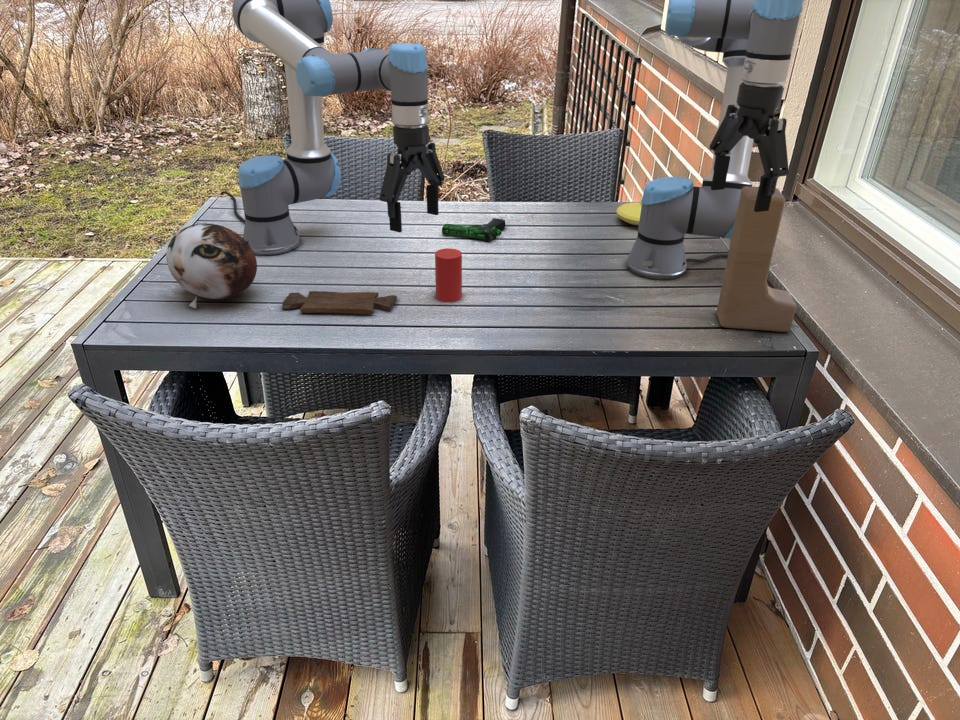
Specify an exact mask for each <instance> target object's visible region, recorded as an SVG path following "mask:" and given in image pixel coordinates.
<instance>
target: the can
mask: <svg viewBox="0 0 960 720" xmlns="http://www.w3.org/2000/svg"><path fill="white" fill-rule="evenodd" d="M434 272H435V274H434V275H435V280H434V281H435V299H437V300H438V301H440V302H444V303H453V302H457V301H459V300H461V299H462V298H463V253H462V251H461V250H459V249H457V248H449V247H446V248H440V249H438V250H436V251H435V252H434Z"/></svg>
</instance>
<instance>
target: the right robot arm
mask: <svg viewBox="0 0 960 720" xmlns="http://www.w3.org/2000/svg"><path fill="white" fill-rule="evenodd" d="M803 3H804V0H668V5H667V13H666V21H665V34H666V35H668V36H670V37H676V38H677V39H678V41H680V42H681V43H682V44H684V45H686V46H688V47H690V48H693V49H696V50H698V51H699V50H700V51H704V52H707V53H708V52H710V53H722V59H721V60H722V61H721V62H722V64H723V65H724V66H725V67H726V69H727V71H726V75H725V76H726V77H725V82H724V90H723V95H722V102H721V107H720V113H719V119H718V125H717V131H716V132H715V134H714V136H713V139H712V141H711V142H710V143H709V150H710V151H713V155H712V161H711V162H712V163H711V168H710V173H709V174H708V175H706V176H705V177H704V178H703V179H702V183H701V184H702V185H701V186H695V185H694V181H693V180H692V179H690V178H689V177H683V176H664V177H659V178H655V179H653V180H651V181H649V182H647V184H646V185H645V186H644V189H643V193H642V198H641V199H642V200H641V199H640V202H641V203H642V207H641V214H640V221H639V226H638V227H637V228H638V229H637V236H636V239H635V241H634V243H633V246H632V248H631V250H630V252H629V254H628V255H627V258H626V265H625V266H626V269H628V271H629V272H631V273H632V274H634V275H636V276H638V277H641V278H646V279H651V280H657V281H658V280H659V281H668V280H675V279H679V278H681V277H683V276H684V275H685V274H686V273H687V268H688V267H687V266H688V264H687V263H706V262H708V261H710V260H712V259H715V258H728V253H716V254H712V255H708V257H705V258H687V257H686V251H685V245H684V240H685V235H693V236H703V237H713V238H720V239H731V238H732V233H733V228H734V224H735V219H736V214H737V209H738V204H739V199H740V194H741V189H742V188H743V187H745V186H748V187H753V182H752V181H751V180H750V178H749V176H748V175H749V169H750V164H751V157H752V152H753V146H754V144H756V146H757V150H758V154H759V157H760V161H761V164H762V168H763V172H764V174H762V175H761V176H760V180H759V184H758V187H759V189H758V194H757V198H756V203H755V208H754V211H755V212H762V211H769V207H770V202H771V198H772V195H773V194H774V193H775V188H777V183H778V179H779V178H780V177H788V175H789V174H790V172H789V171H790V170H789V159H788V158H789V157H788V148H787V138H786V136H787V135H786V128H787V122H788V121H787V118H786V117H784V118H783V117H782V118H775V111H776V110H777V109H778V108H780V106H781V104H782V99H783V95H784V94H783V93H784V89H785V87H784V86H783V85H782V84H784V83H786V81H787V77H788V72H789V67H790V62H791V56H792V51H793V46H794V43H795V39H796V34H797V30H798V27H799V26H798V25H799V21H800V20H799V19H800V16H801V13H802V12H803V9H804V7H803Z"/></svg>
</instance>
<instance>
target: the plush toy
mask: <svg viewBox="0 0 960 720" xmlns="http://www.w3.org/2000/svg"><path fill="white" fill-rule="evenodd" d="M248 242H249V241H246V240H245V239H244V238H243V236H242V235H240V234H239V233H238V232H236V231H234V230H233V229H231V228H229V227H226V226H223V225H220V224H215V223H205V222H204V223H195V224H191V225H188V226H186V227H183V228H182V229H180V230H179V231H177V232H176V233H175V234H174V235H173V237H171V239H170V241H169V243H168V245H167V248H166V254H165V260H166V265H167V268H168V271H169V273H170V275H171V276H172V277H173V279H174V280H175V281H176V282H177V284H178V285H180V286H181V287H182V288H183V289H185V290H186V291H187V292H189V293H191V294H194V295H195V298H194V299H193V300H192V302H190V303H189V304H188V306H189V307H191V308H192V309H197V308H198V307H197V298H198V297H201V298H205V299H210V300H226V299H230V298H233V297H236V296H238V295H241V294H242V293H244V292H245V291H247V290H248V289H249V288H250V286H251V285H252V284H253V282H254V280H255V278H256V275H257V271H258V262H257V257H256V254H254V252H253V250H252V248H251V247H250V245H249V244H248Z"/></svg>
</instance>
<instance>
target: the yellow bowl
mask: <svg viewBox="0 0 960 720" xmlns="http://www.w3.org/2000/svg"><path fill="white" fill-rule="evenodd" d="M641 200H642V198H640V201H639V202H635V201H634V202H628V203H624V204H621V205H620V206H618V208H616V216H617V217H618V218H619V219H620V220H622V221H624V222H625V223H628V224H630V225H632V226H638V227H639V221H640V214H641V207H642V203H641Z"/></svg>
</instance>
